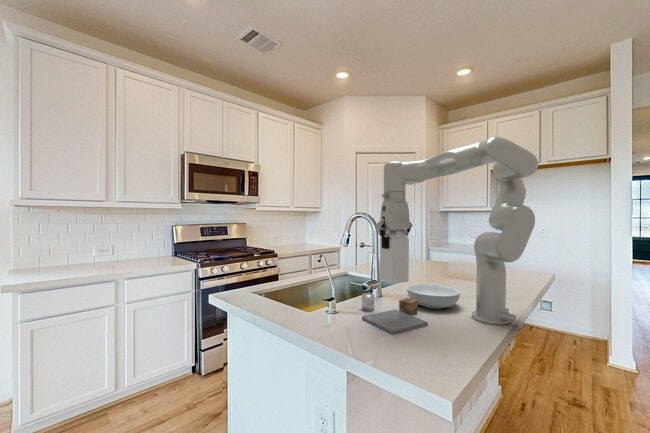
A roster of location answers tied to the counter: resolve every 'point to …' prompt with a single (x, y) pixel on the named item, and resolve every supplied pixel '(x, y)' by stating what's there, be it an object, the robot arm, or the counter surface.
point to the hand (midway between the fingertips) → (394, 247)
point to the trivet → (394, 321)
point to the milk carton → (395, 258)
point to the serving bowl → (433, 295)
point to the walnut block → (408, 306)
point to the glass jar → (368, 302)
